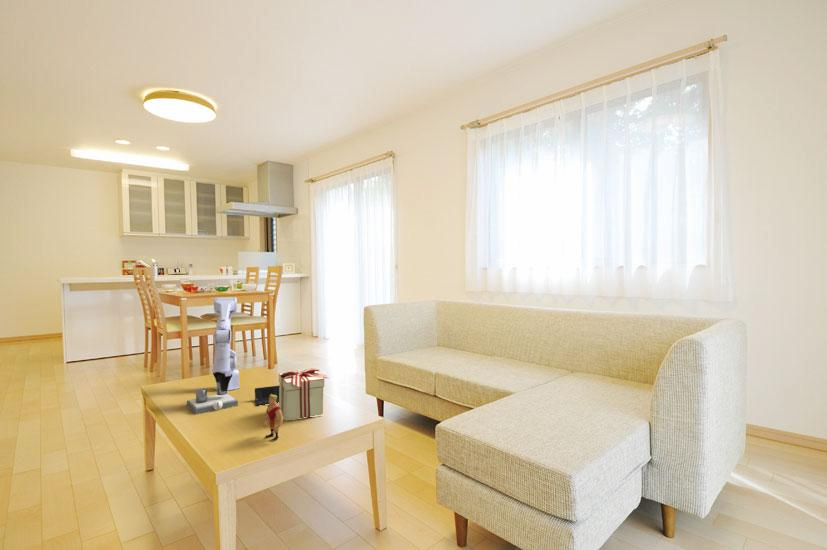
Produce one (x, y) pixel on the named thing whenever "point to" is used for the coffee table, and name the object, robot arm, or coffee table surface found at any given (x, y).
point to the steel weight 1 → (201, 395)
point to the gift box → (301, 394)
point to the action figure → (273, 416)
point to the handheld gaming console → (265, 394)
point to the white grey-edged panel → (212, 403)
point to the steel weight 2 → (220, 390)
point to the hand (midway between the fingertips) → (222, 390)
